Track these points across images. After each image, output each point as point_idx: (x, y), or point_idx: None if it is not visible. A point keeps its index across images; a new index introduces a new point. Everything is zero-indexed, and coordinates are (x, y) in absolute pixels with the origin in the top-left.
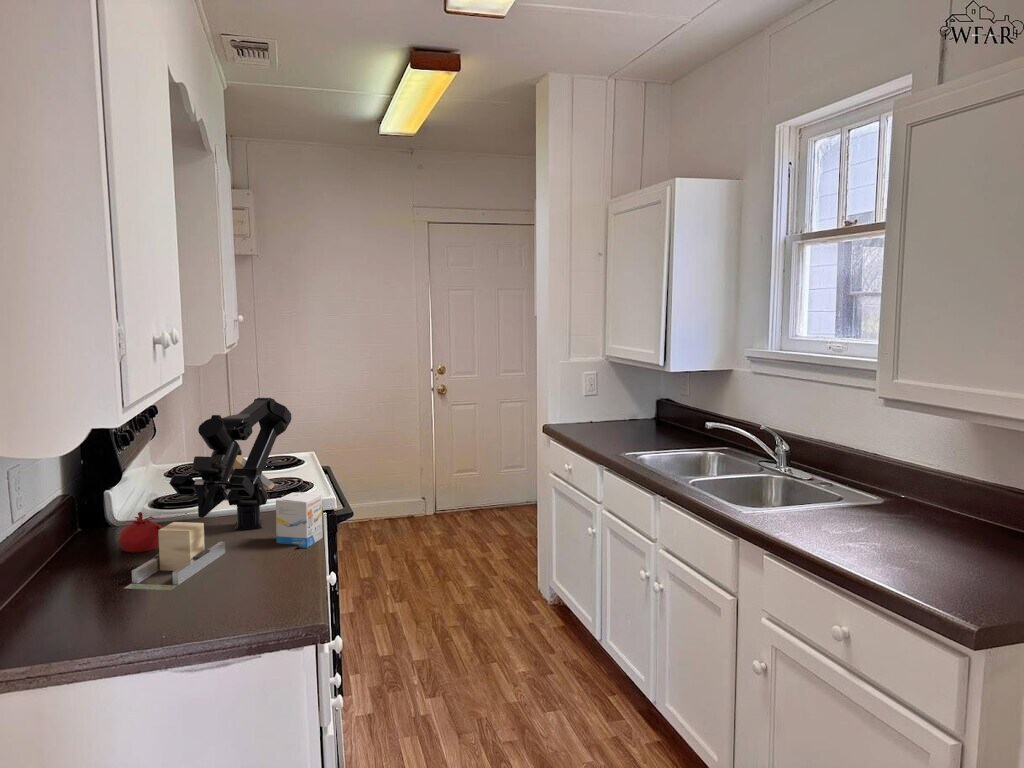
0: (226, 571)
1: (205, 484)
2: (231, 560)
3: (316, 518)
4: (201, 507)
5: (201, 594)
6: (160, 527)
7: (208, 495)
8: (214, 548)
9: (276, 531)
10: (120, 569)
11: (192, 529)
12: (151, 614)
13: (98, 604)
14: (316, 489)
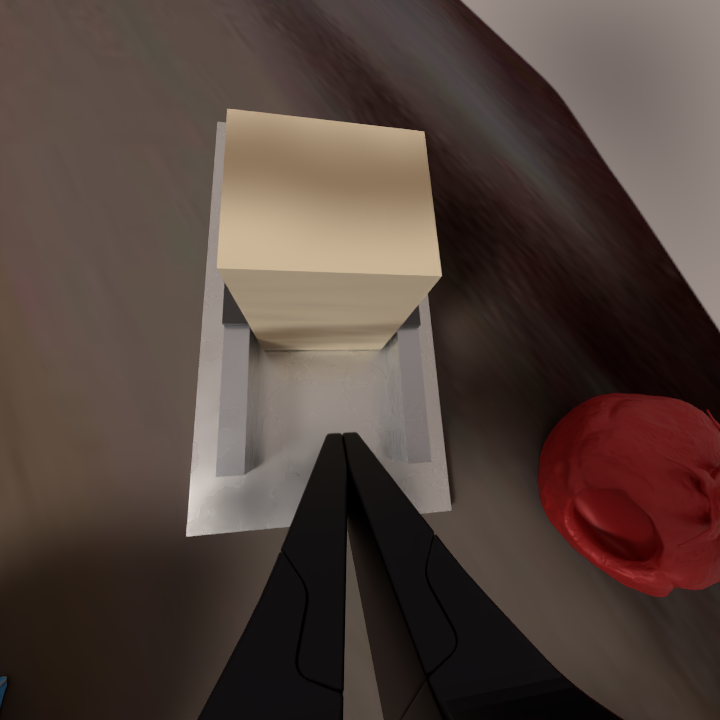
0: (152, 303)
1: None
2: (183, 419)
3: None
4: (357, 483)
5: (154, 129)
6: (636, 569)
7: (319, 685)
8: (222, 368)
9: None
10: (512, 296)
11: (225, 138)
12: (229, 34)
13: (391, 89)
14: None
